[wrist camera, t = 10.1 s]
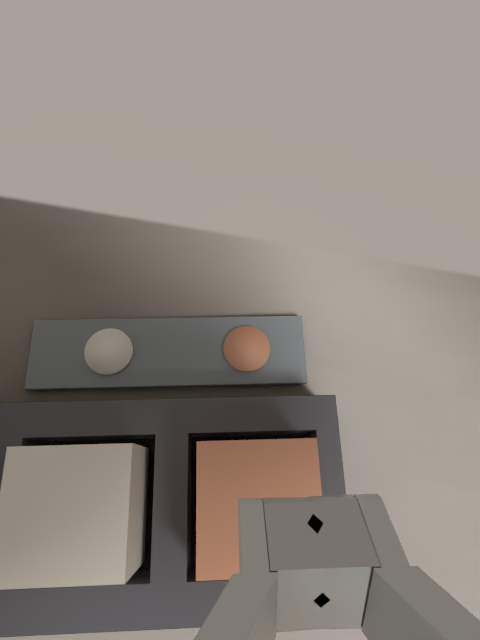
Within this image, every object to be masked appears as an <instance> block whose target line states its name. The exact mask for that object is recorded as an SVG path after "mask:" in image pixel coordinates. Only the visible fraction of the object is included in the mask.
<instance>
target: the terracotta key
mask: <svg viewBox="0 0 480 640" xmlns="http://www.w3.org/2000/svg"><path fill="white" fill-rule="evenodd" d="M310 496H322V489H321V478H320V466H319V455H318V444H317V438H294V439H259V440H224V441H197V453H196V581H210V580H230V578H231V576H232V575H233V574H237V573H239V531H238V499H239V498H293V497H310Z"/></svg>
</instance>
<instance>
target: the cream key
mask: <svg viewBox="0 0 480 640" xmlns="http://www.w3.org/2000/svg"><path fill="white" fill-rule="evenodd" d="M148 463H149V448H147V447H143V446H140V445H137V444H134V443H118V444H83V445H48V446H13V447H7V450H6V456H5V463H4V469H3V476H2V483H1V489H0V590H6V589H29V588H52V587H75V586H98V585H120V584H125V583H126V582H127V581H128V580H129V579H130V578H131V577H132V575H133V574H134V573H135V572H136V571H137V570H138V569H139V567H140V566H141V565H142V564H143V563H144V560H145V536H146V512H147V487H148Z"/></svg>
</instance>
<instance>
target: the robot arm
mask: <svg viewBox="0 0 480 640" xmlns="http://www.w3.org/2000/svg"><path fill="white" fill-rule="evenodd" d="M238 531H239V573H237V574H233V575H232V576H231V578H230V580H229V581H228V583H227V585H226V586H225V588H224V590H223V591H222V593H221V595H220V596H219V598H218V600H217V602H216V603H215V605H214V607H213V608H212V610H211V612H210V613H209V615H208V617H207V618H206V620H205V622H204V623H203V625H202V627H201V628H200V630H199V632H198V634H197V635H196V637H195V639H194V640H274V639H275V637H276V632H285V631H298V630H312V629H359V628H362V632H363V633H364V635H365V636H366V637H367V639H368V640H480V621H479V620H478V619H477V618H476V617H475V616H474V615H473V614H471V613H470V612H469V611H468V610H467V609H466V608H465V607H463V606H462V605H461V604H460V603H459V602H458V601H457V600H455V599H454V598H453V597H452V596H451V595H450V594H449V593H448V592H446V591H445V590H444V589H443V588H442V587H441V586H440V585H438V584H437V583H436V582H435V581H434V580H433V579H432V578H430V577H429V576H428V575H427V574H426V573H425V572H424V571H423V570H421V569H420V568H419V567H418V566H410V565H409V562H408V560H407V558H406V555H405V553H404V550H403V548H402V546H401V543H400V541H399V539H398V536H397V534H396V531H395V529H394V527H393V524H392V522H391V520H390V517H389V515H388V513H387V510H386V508H385V505H384V503H383V501H382V498H381V497H380V496H379V495H378V494H359V495H352V494H350V495H330V496H310V497H293V498H239V499H238Z"/></svg>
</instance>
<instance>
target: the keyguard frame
mask: <svg viewBox="0 0 480 640" xmlns="http://www.w3.org/2000/svg"><path fill="white" fill-rule="evenodd" d="M299 434H306V438H317V444H318V455H319V466H320V478H321V489H322V496H330V495H346V491H345V482H344V473H343V463H342V454H341V444H340V435H339V425H338V416H337V407H336V397H335V395H307V396H265V397H223V398H181V399H139V400H97V401H55V402H13V403H0V489H1V483H2V476H3V469H4V463H5V456H6V450H7V447H13V446H45V445H46V442H50V441H86V440H121V439H155V461H154V488H153V515H152V543H151V570H137V571H136V572H135V573H134V574H133V575H132V577H131V578H130V579H129V580H128V581H127V582H126V583H125V584H120V585H98V586H75V587H52V588H29V589H6V590H0V637H15V636H35V635H56V634H76V633H97V632H117V631H138V630H158V629H179V628H199V627H202V625H203V623H204V622H205V620H206V618H207V617H208V615H209V613H210V612H211V610H212V608H213V607H214V605H215V603H216V602H217V600H218V598H219V596H220V595H221V593H222V591H223V590H224V588H225V586H226V585H227V583H228V581H229V580H210V581H196V568H191V510H192V437H228V436H264V435H299Z"/></svg>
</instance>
